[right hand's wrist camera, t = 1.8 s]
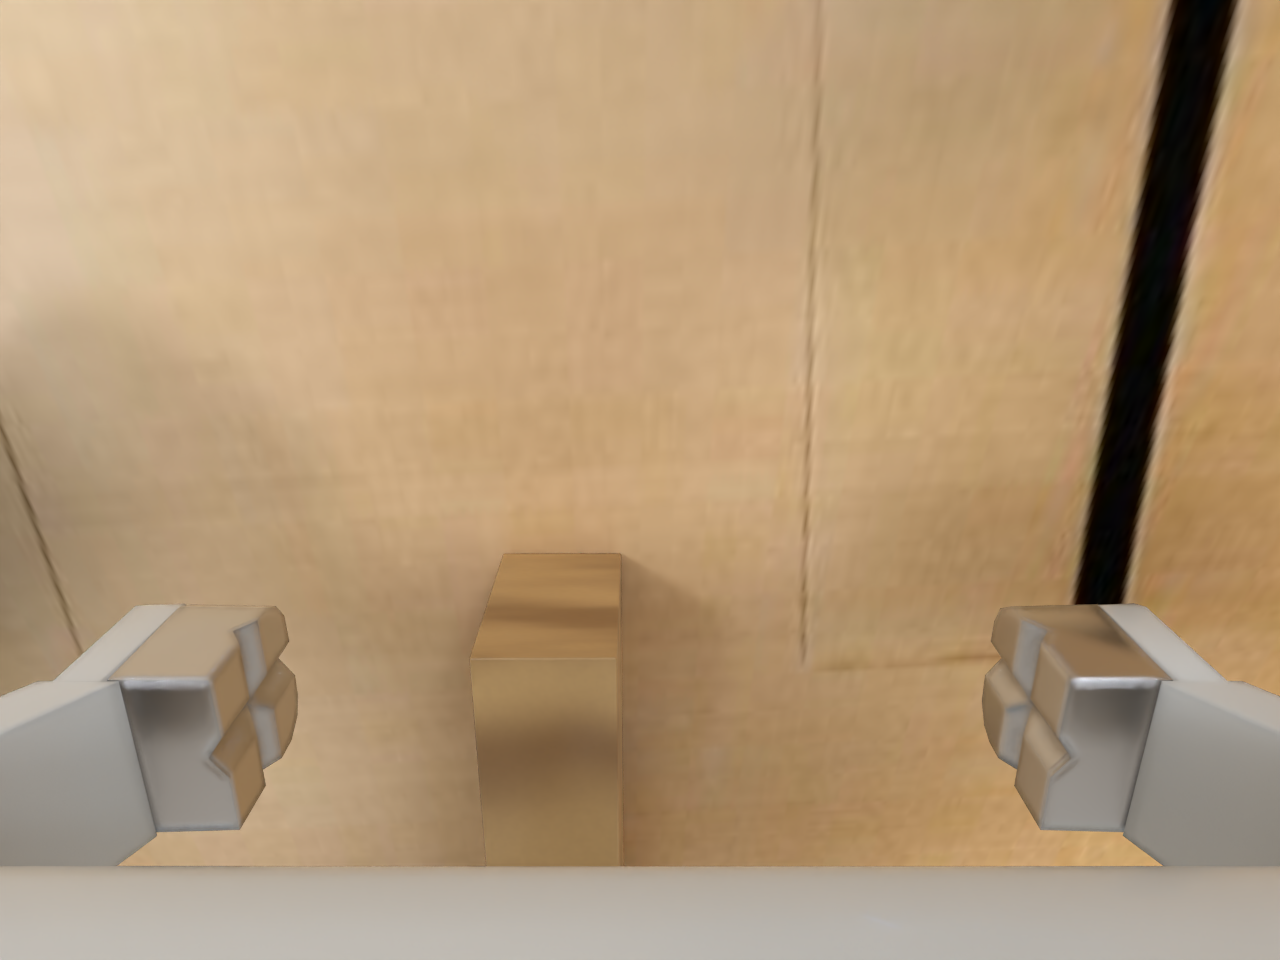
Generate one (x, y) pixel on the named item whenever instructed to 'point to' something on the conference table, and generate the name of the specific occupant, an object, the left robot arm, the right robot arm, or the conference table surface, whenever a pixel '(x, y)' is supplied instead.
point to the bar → (551, 712)
